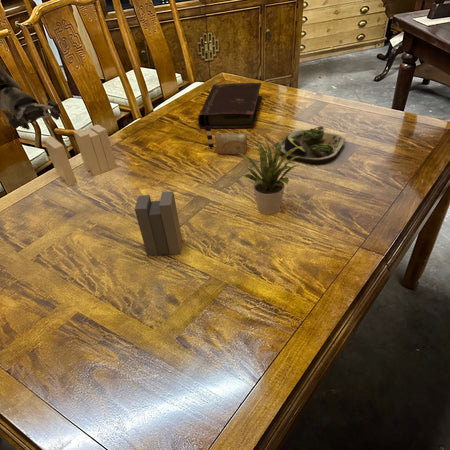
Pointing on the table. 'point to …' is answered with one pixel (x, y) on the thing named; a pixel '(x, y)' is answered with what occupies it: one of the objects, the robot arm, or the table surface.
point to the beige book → (60, 160)
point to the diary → (231, 106)
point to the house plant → (270, 178)
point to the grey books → (159, 224)
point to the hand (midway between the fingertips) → (42, 120)
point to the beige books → (95, 149)
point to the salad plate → (312, 146)
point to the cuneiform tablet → (228, 142)
